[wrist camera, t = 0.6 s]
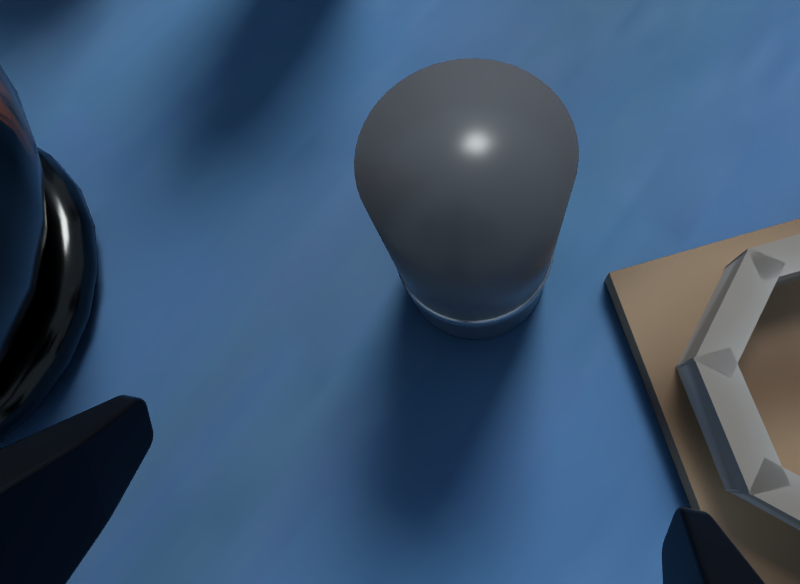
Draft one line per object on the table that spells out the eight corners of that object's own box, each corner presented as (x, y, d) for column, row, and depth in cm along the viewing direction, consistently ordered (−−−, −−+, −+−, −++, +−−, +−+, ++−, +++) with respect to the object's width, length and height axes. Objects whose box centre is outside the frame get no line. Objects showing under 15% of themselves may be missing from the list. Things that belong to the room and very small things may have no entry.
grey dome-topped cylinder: (565, 318, 23) (615, 222, 13) (426, 357, 23) (381, 290, 14) (521, 193, 25) (538, 29, 15) (393, 231, 25) (331, 95, 16)
